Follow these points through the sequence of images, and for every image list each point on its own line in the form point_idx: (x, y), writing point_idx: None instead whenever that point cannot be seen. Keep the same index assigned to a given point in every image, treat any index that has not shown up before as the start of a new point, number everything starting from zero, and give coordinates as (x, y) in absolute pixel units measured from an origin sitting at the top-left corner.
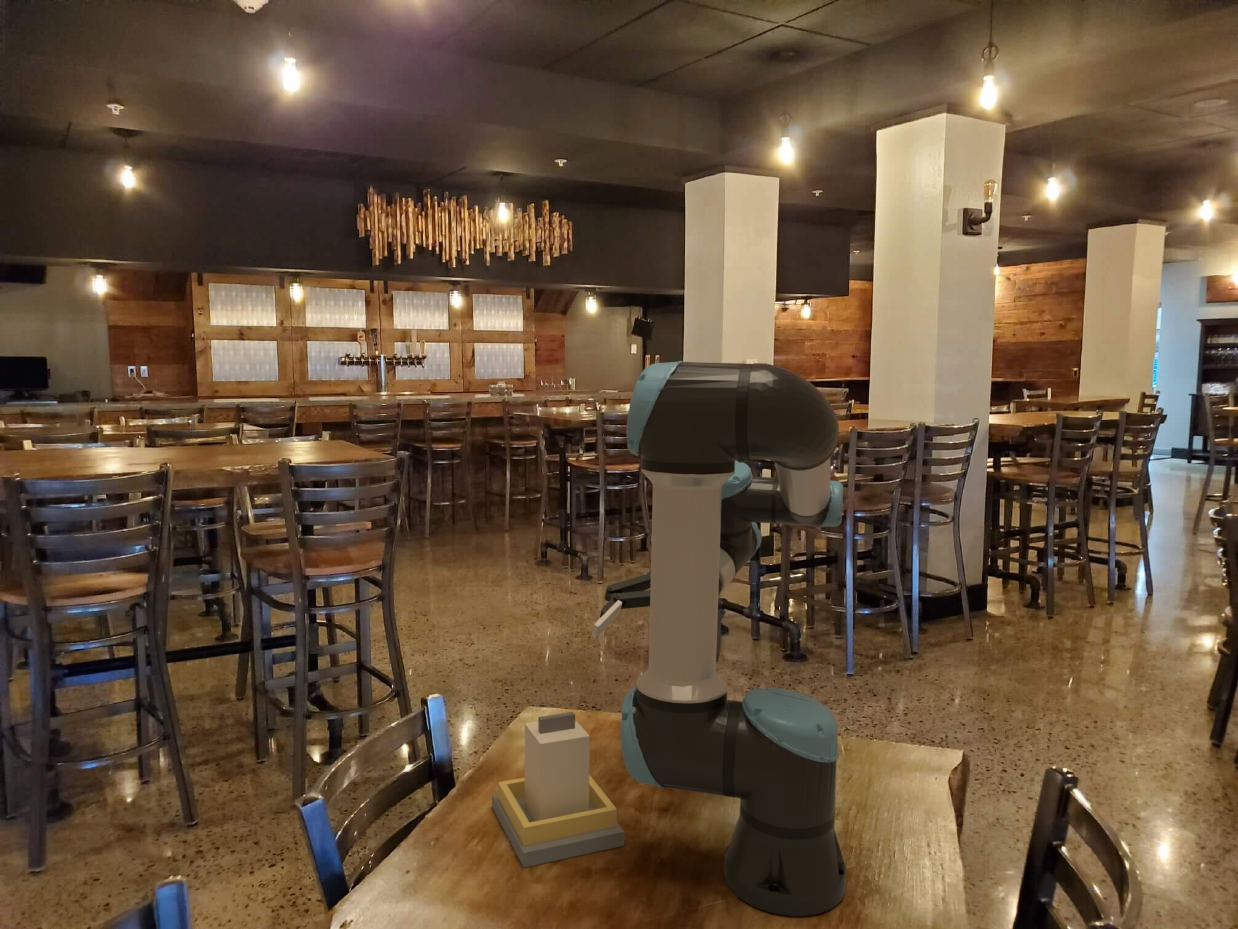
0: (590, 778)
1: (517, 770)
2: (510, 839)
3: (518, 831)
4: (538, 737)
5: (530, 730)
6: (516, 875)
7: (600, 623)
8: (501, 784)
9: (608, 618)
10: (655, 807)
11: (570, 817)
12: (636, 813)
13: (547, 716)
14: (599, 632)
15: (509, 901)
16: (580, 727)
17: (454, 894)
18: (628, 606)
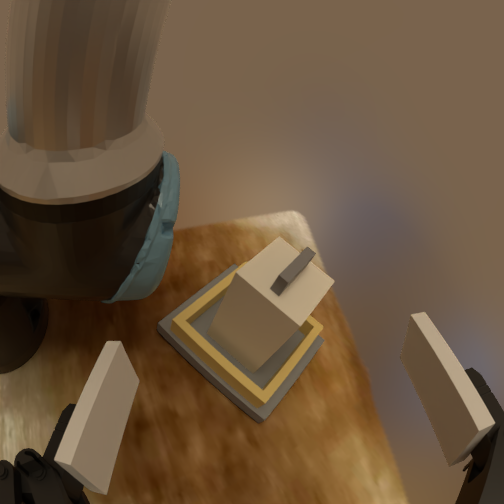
0: (239, 378)
1: (349, 426)
2: None
3: None
4: (293, 250)
5: (315, 265)
6: (230, 265)
7: (420, 325)
8: (318, 323)
9: (434, 369)
10: (153, 426)
11: (214, 288)
12: (170, 403)
13: (307, 257)
14: (409, 361)
15: (217, 238)
16: (264, 293)
17: (257, 237)
18: (460, 501)
